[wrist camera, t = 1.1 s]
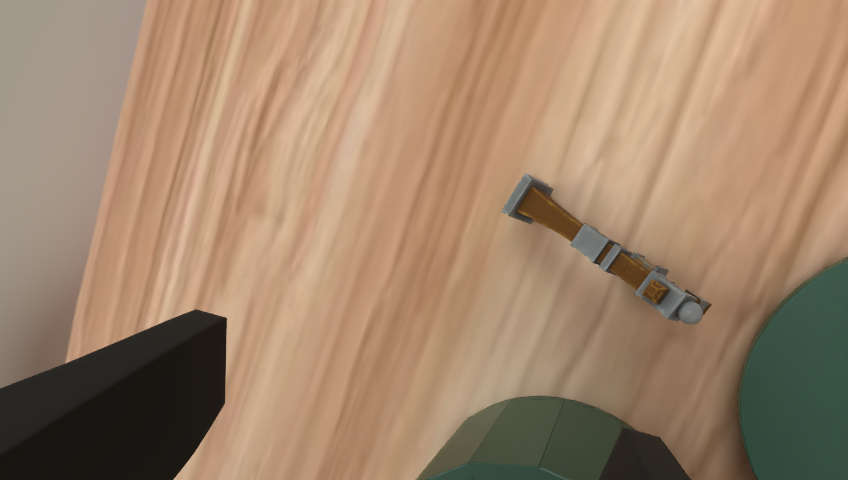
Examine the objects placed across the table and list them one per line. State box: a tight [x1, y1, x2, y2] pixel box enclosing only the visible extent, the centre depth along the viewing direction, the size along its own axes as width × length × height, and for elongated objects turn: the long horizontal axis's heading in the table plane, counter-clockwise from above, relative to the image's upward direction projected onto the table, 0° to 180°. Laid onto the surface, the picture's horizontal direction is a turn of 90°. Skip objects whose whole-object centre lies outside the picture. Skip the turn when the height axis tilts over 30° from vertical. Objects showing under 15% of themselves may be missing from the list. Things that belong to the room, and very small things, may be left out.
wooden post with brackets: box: [501, 173, 712, 324], centre depth 19 cm, size 2×8×4 cm, turn 58°
